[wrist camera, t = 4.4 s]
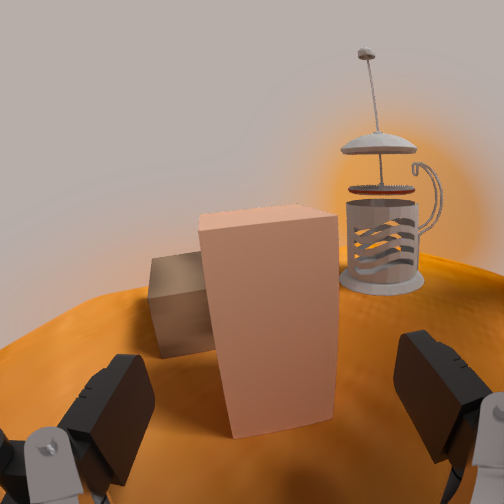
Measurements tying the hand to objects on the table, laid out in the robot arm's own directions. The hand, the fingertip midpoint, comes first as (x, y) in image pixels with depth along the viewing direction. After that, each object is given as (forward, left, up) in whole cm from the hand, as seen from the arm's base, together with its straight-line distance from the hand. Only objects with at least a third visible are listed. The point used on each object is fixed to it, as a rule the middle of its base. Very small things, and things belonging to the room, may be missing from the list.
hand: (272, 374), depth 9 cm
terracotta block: (-1, -5, -6) cm, 8 cm away
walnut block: (+1, -17, -6) cm, 19 cm away
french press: (-17, -20, -6) cm, 27 cm away
